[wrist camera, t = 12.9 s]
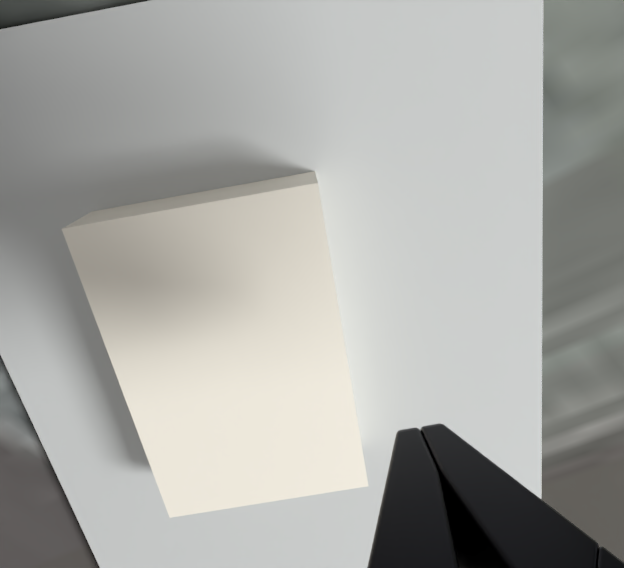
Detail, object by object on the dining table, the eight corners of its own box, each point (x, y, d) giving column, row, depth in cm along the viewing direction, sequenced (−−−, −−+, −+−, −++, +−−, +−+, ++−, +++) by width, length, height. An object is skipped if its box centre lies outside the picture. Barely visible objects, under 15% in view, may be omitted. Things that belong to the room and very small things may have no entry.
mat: (536, 549, 19) (541, 558, 18) (128, 611, 19) (124, 621, 19) (535, -70, 11) (543, -76, 11) (-126, 57, 12) (-139, 56, 11)
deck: (368, 486, 14) (169, 517, 14) (360, 444, 16) (182, 473, 16) (317, 182, 11) (61, 229, 11) (315, 171, 13) (91, 211, 13)
